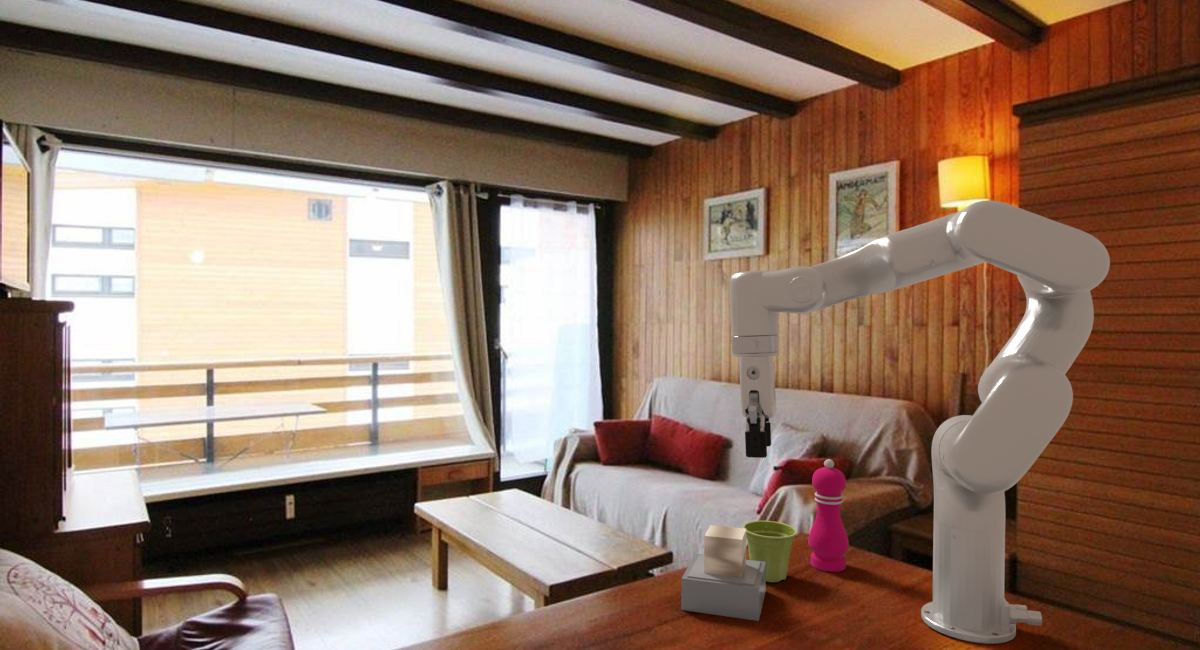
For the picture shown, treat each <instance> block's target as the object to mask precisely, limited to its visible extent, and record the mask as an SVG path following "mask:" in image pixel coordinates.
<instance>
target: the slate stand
mask: <svg viewBox="0 0 1200 650" xmlns="http://www.w3.org/2000/svg"><path fill="white" fill-rule="evenodd" d="M680 584H681V588H680V589H681V591H680V592H681V595H680V597H681V598H680V599H681V601H680V602H681V603H680V604H681V605H680V607H681V609H680V610H681V611H687V612H695V613H701V614H707V615H716V616H722V617H729V618H736V619H742V620H751V621H757V622H759V621H760V616H761V613H762V610H763V609H762V608H763V604H764V600H765V596H766V590H767V589H766V586H767V585H766V562H763V561H755V560H750V559H746V566H745V569H744V572H743V576H742V577H734V576H726V575H718V574H710V573H704V554H703V553H694V556H693V557H692V559H691V561H690V563H689V564H688V566H687V568H686V569H685V572H684V574H683V575H682V577H681V583H680Z"/></svg>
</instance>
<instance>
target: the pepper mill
mask: <svg viewBox="0 0 1200 650" xmlns="http://www.w3.org/2000/svg"><path fill="white" fill-rule="evenodd" d="M823 465H824V466H823V467H820V468H818V469H815V471H814V472H813V475H812V478H811V480H812V481H811V483H812V484H811V485H812V486H813V488H814V489H815V491H816V492H814V501H815V502H816V507H817V508H816V516H815V520H814V522H813V523H812V526H811V527H810V530H809V533H808V537H807V543H808V547H809V548H810V549H811V551H812V552H811V554H810V565H811V567H813V568H814V569H816V570H820V571H823V572H829V573H835V572H836V573H838V572H842V571H844V570H846V568H847V558H846V557H845V556H844V555H845V554H846V552H848V551H849V547H850V544H849V538H848V533H847V531H846V528H845V525H844V524H843V521H842V517H841V504H843V502H844V500H843V497H844V494H842V492H843V491H844V490H845V489H846V488H847V487H846V486H847V480H846V476H845V474H844V473H843V472H842V471H841V470H839V469H837V468H835V467H834V466H835V462H834V461H833V460H832V459H830V458H828V459H826V460H825V461H824V462H823Z"/></svg>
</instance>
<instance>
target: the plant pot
mask: <svg viewBox="0 0 1200 650" xmlns="http://www.w3.org/2000/svg"><path fill="white" fill-rule="evenodd" d="M742 528H745V529H746V542H747V547H748V555H749V556H748V557H749V560H755V561H763V562H766V582H767V583H779V582H780V581H782V580H783V581H785V580H786V578H787V575H788V568H789V563H790V562H789V561H790V556H791V549H792V545H793V544H792V543H793V542H794V540H795V536H796V535H797V532H798V531H797V529H796V528H795V527H793V526H792V525H790V524H786V523H783V522H778V521H773V520H772V521H771V520H753V521H749V522H746V523H744V524H743V526H742Z"/></svg>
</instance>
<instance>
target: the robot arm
mask: <svg viewBox="0 0 1200 650" xmlns="http://www.w3.org/2000/svg"><path fill="white" fill-rule="evenodd" d="M1110 258H1111V257H1110V255H1109V252H1108V249H1107V248H1106V247H1105V245H1104V244H1103V243H1102V242H1101V241H1100V240H1099V239H1098V238H1096V237H1095V236H1093V235H1092V234H1090V233H1089V232H1086V231H1083V230H1081V229H1078V228H1076V227H1073V226H1071V225H1067V224H1065V223H1062V222H1058V221H1056V220H1053V219H1051V218H1050V219H1049V218H1048V217H1045V216H1042V215H1039V214H1037V213H1034V212H1031V211H1028V210H1026V209H1023V208H1020V207H1018V206H1014V205H1012V204H1008V203H1006V202H1002V201H998V200H997V201H996V200H989V199H988V200H981V201H977V202H974V203H971V204H970V205H968V206H966V207H965V208H964V209H961V210H959V211H957V212H954V213H951V214H947V215H944V216H942V217H938V218H936V219H933V220H930V221H928V222H924V223H920V224H917V225H916V226H915V225H914V226H912V227H909V228H904V229H902V230H899V231H895V232H892V233H889V234H886V235H884V236H880V237H879V238H876V239H874V240H872V241H871V242H869V243H867V244H866V245H864V246H862V247H860V248H858V249H856V250H854V251H852V252H849V253H847V254H845V255H842V256H839V257H837V258H834V259H830V260H828V261H827V260H826V261H824V262H821V263H818V264H815V265H812V266H809V267H808V266H805V265H804V266H794V267H789V268H784V269H778V270H770V271H768V270H748V271H740V272H736V273H734V274H732V275H731V277H730V279H729V304H730V305H729V306H730V329H731V333H730V334H731V352H732V354H731V356H732V357H734V358H736V357H737V358H738V359H739V360H738V361H739V386H740V388H739V390H740V404H741V413H742V414H741V415H742V417H744V418H745V431H744V439H745V440H744V441H745V457H746V458H756V459H757V458H759V459H760V458H761V459H763V458H764V459H765V458H767V456H768V450H767V449H768V447H771V445H772V432H771V427H772V426H771V422H770V419H772V418H773V417H774V416H775V415H776V413H777V396H776V379H775V378H776V377H775V366H774V365H775V364H774V357H776V356H780V344H779V343H780V342H779V341H780V340H779V313H787V314H796V315H808V314H811V313H814V312H817V311H820V310H823V309H826V308H829V307H834V306H835V305H839V304H842V303H846V302H849V301H853V300H856V299H859V298H864V297H866V296H870V295H875V294H883V293H888V292H892V291H896V290H899V289H902V288H906V287H909V286H912V285H915V284H920V283H921V282H925V281H928V280H931V279H935V278H939V277H942V276H946V275H949V274H951V273H955V272H959V271H962V270H966V269H967V268H968V269H969V268H972V267H975V266H978V265H981V264H985V263H988V264H991V266H995V267H997V268H999V269H1002V270H1004V271H1006V272H1008V273H1011V274H1014V275H1016V276H1017V279H1018V282H1019V284H1020V285H1021V287H1022V290H1023V292H1024V294H1025V299H1026V307H1025V312H1024V315H1023V317H1022V319H1021V320H1020V322H1019V324H1018V325H1017V327H1016V329H1015V330H1014V332H1013V333H1012V335H1011V336H1010V337H1009V339H1008V340H1007V342H1006V343H1005V345H1004V346H1003V347H1002V348H1001V350H1000V351H999V353H998V354H997V355H996V357H995V358H994V359H993V360H992V362H990V363H989V366H988V367H986V369H985V370H984V372H983V373H982V375H981V376H980V379H979V381H978V385H977V393H978V397H979V400H980V402H981V404H980V405H979V406H978V407H977V409H976V410H975V411H974V413H973V414H969V415H968V414H961V415H956V416H952V417H950V418H947V419H946V420H945V421H943V422H942V423H941V424H940V425H939V427H938V428H937V429H936V431H935V433H934V435H933V438H932V442H931V466H932V469H931V470H932V481H933V530H932V531H933V533H932V535H933V539H932V540H933V541H932V543H933V546H932V548H933V549H932V601H929V602H926V604H924V605H923V606H922V607H921V610H920V611H921V613H920V615H921V619H922V620H923V622H924V623H925V624H926V625H927V626H928V627H930V628H931V629H933V630H934V631H936V632H939V633H940V634H944V635H945V636H948V637H951V638H955V639H957V640H960V641H966V642H970V643H977V644H986V645H987V644H989V645H990V644H994V645H995V644H1003V643H1007V642H1010V641H1011V640H1013V639H1014V638H1015V637H1016V635H1017V627H1016V625H1017V624H1018V623H1022V624H1027V625H1033V626H1039V627H1041V626H1042V625H1043V616H1042V613H1041V611H1036V610H1028V607H1027V605H1023V604H1011V603H1009V601H1007V599H1006V598H1005V569H1006V568H1005V566H1006V565H1005V563H1006V561H1005V559H1006V553H1005V552H1006V496H1005V495H1006V493H1005V492H1006V491H1008V490H1010V488H1012V487H1014V486H1015V485H1016V484H1017V483H1018V482H1019V481H1020V480H1021V479H1022V478H1023V477H1024V476H1025V475H1026V474H1027V472H1028V471H1029V470H1030V468H1031V467H1032V466H1033V465H1034V464H1035V462H1036V461H1037V460H1038V458H1039V457H1040V455H1041V454H1042V453H1043V452H1044V450H1046V447H1048V445H1049V444H1050V442H1051V441H1052V440H1053V438H1054V437H1055V436H1056V434H1057V433H1058V432H1059V430H1060V429H1061V428H1062V427H1063V425H1064V423H1065V421H1066V420H1067V418H1068V416H1069V415H1070V412H1071V409H1072V406H1073V402H1074V393H1073V387H1072V384H1071V382H1070V380H1069V378H1068V377H1067V376H1066V374H1067V373H1068V371H1069V369H1070V368H1071V367H1072V366H1073V364H1074V362H1075V361H1076V358H1077V357H1078V356H1079V354H1080V353H1081V352H1082V350H1083V349H1084V347H1085V345H1086V344H1087V342H1088V339H1089V337H1090V336H1091V332H1092V330H1093V325H1094V321H1095V320H1094V319H1095V317H1094V316H1095V315H1094V314H1095V313H1094V310H1095V309H1094V304H1093V303H1094V302H1093V297H1092V294H1091V291H1092V290H1093V289H1095V288H1096V287H1098V286H1099V285H1100V284H1102V282H1103V281H1104V280H1105V279H1106V277H1107V275H1108V273H1109V271H1110V265H1111V261H1110ZM773 356H774V357H773Z"/></svg>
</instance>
